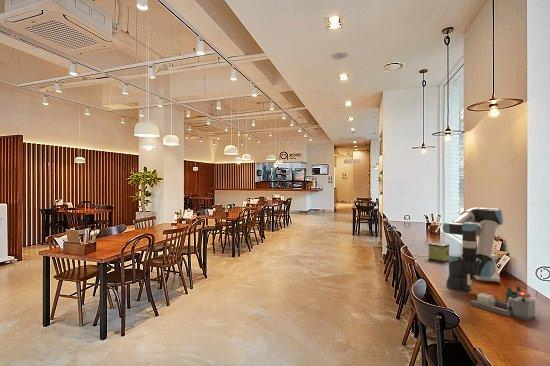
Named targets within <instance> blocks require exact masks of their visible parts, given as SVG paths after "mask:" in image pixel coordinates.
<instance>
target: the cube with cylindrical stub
mask: <svg viewBox="0 0 550 366" xmlns="http://www.w3.org/2000/svg"><path fill="white" fill-rule="evenodd" d="M476 297H477V299H476V301H477V302H481V303H484V304H488V305H491V306H495V307H496V305H495V303H496V301H495V300H496V298H495V297H494V295H492V294H488V293H485V292H481V293H478V294H477V295H476Z"/></svg>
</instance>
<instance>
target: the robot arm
mask: <svg viewBox="0 0 550 366" xmlns="http://www.w3.org/2000/svg"><path fill="white" fill-rule="evenodd" d="M503 224H504V218H503V212H502V210H501V208H497V207H496V208H494V207H472V208H469V209H468V208H467V209H465V210H463V211H462V212H461V213H460V215H459V216H457V218H455V219H453V220H452V221H451V222H449V221H446V222H443V223H442V232H443V233H444V234H449V235H460V236H461V235H462V241H461V242H462V244H461V245H462V248H461V249H462V251H461V252H462V253H455V254H451V255H450V254H449V261H448V276H447V277H448V278H447V280H446V283H445V286H446V288H449V289H452V290H455V291H463V292H467V291H471V290H472V285H473V280H474V277H473V275H474V276H479V277H483V278H484V277H485V278H491V277H492V276H493V274H494V271H495V263H496V261H495V262H494V261H493V259H492V258H491V253H492V254H493V249H494V248H493V246H494V241H495V236H496V232H497V231H496V230H497V229H498V228H499V227H500V225H501V226H502V225H503ZM477 237H478V241H477Z"/></svg>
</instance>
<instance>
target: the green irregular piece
mask: <svg viewBox="0 0 550 366" xmlns="http://www.w3.org/2000/svg"><path fill="white" fill-rule="evenodd" d="M506 290H507V291H505V301H506V302H507V301H508V298H509V297H512V298H514V299H515V298H517V297H519V296H518V295H517V292H522V287H521V286H520V285H517V286H516V291H514V290H513V288H511V287H508V288H507V289H506Z"/></svg>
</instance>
